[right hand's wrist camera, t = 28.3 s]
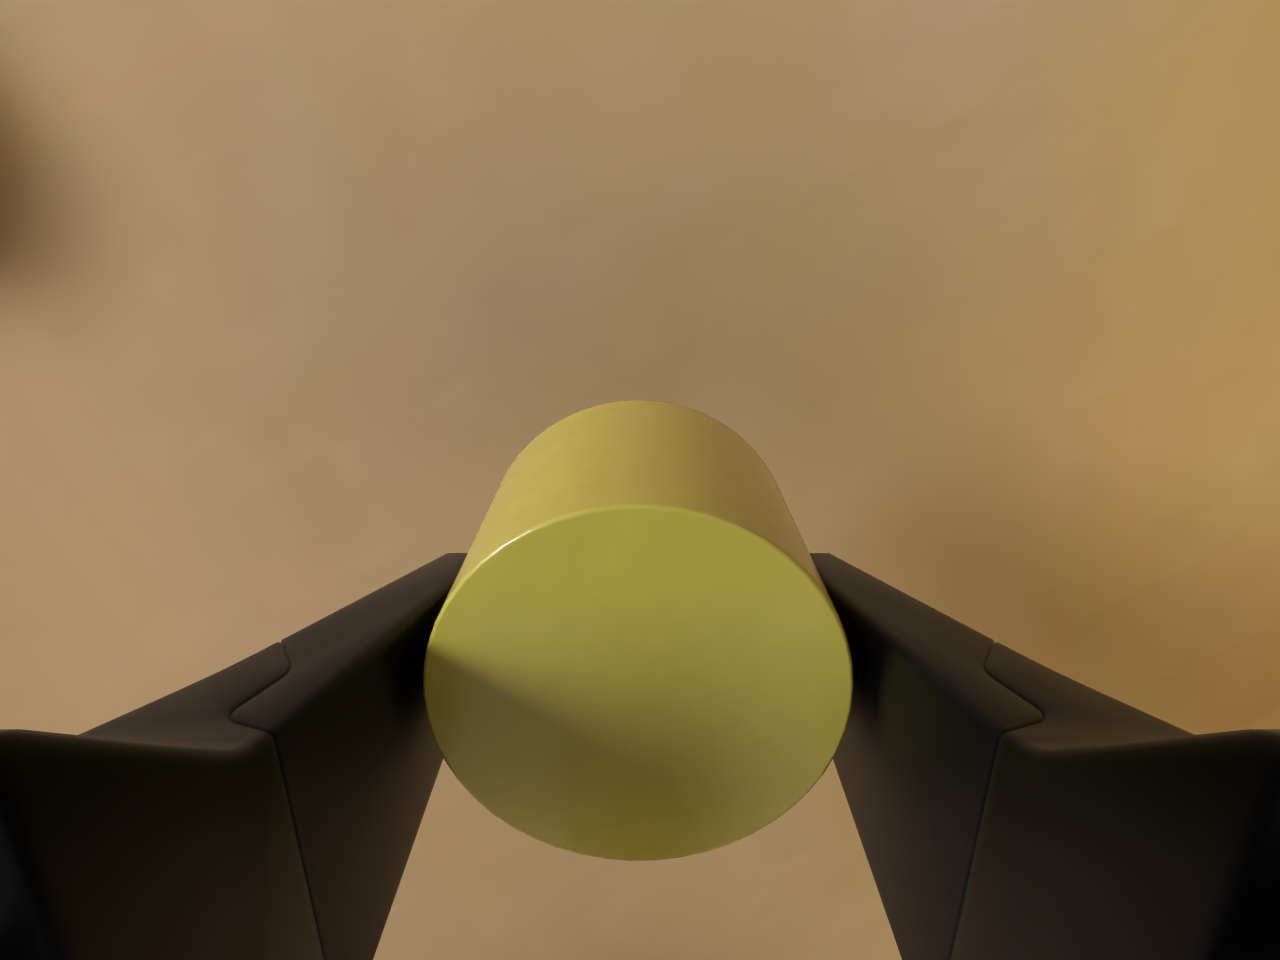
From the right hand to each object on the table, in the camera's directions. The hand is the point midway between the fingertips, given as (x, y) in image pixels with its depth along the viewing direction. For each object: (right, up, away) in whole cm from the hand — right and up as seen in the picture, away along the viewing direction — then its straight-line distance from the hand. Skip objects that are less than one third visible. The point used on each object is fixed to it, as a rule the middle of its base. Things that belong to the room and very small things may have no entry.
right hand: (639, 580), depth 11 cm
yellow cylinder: (0, 0, +1) cm, 1 cm away
